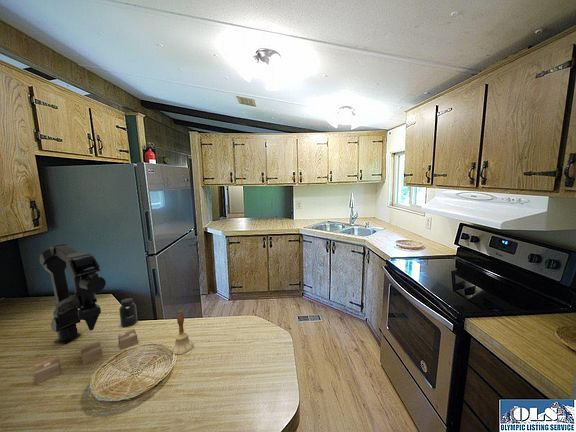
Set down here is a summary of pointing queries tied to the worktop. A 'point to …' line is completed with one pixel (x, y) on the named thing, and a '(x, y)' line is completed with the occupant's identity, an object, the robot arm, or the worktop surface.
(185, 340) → the hand bell
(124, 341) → the two-pip walnut block
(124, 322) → the supplement bottle
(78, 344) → the worktop surface
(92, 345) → the plain walnut block
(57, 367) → the one-pip walnut block
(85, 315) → the robot arm
